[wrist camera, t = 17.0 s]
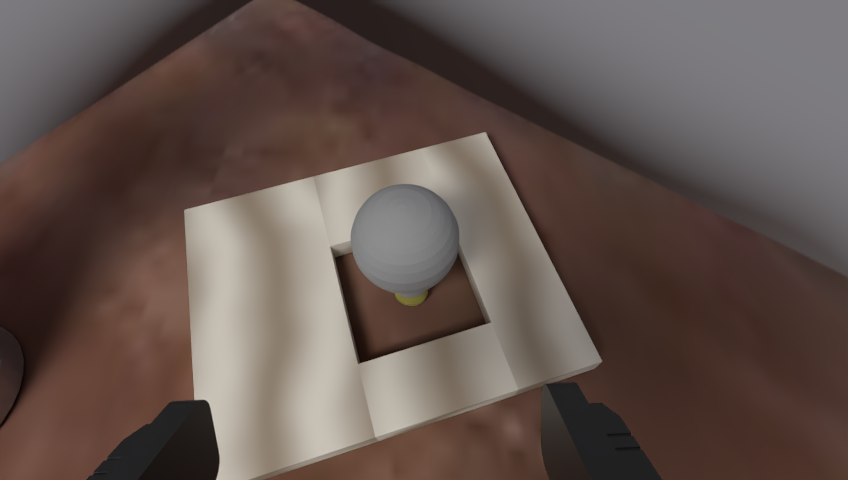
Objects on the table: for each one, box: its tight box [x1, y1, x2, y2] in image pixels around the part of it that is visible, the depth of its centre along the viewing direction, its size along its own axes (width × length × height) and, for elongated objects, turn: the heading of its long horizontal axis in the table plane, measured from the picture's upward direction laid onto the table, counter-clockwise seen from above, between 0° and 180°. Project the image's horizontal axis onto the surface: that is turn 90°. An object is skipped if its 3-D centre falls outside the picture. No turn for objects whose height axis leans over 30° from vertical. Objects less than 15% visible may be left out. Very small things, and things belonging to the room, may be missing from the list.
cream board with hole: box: [184, 132, 602, 480], centre depth 29 cm, size 22×18×2 cm
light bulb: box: [351, 184, 459, 306], centre depth 25 cm, size 5×5×10 cm
